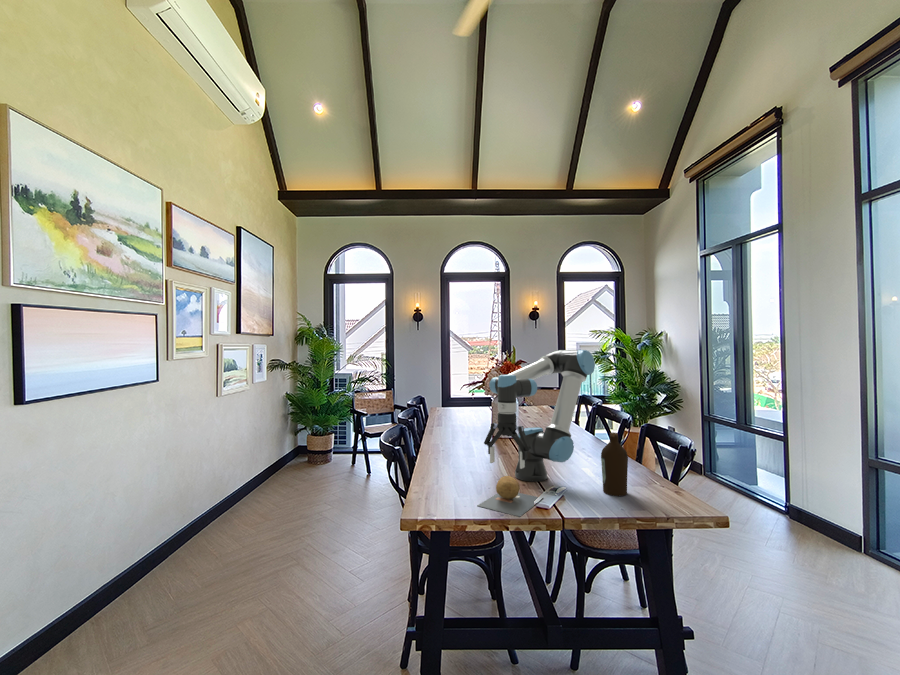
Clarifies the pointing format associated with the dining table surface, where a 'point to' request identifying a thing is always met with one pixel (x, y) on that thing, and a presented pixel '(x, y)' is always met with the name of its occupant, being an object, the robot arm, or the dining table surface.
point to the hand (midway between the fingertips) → (506, 465)
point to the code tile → (510, 504)
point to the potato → (508, 487)
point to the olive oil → (614, 467)
